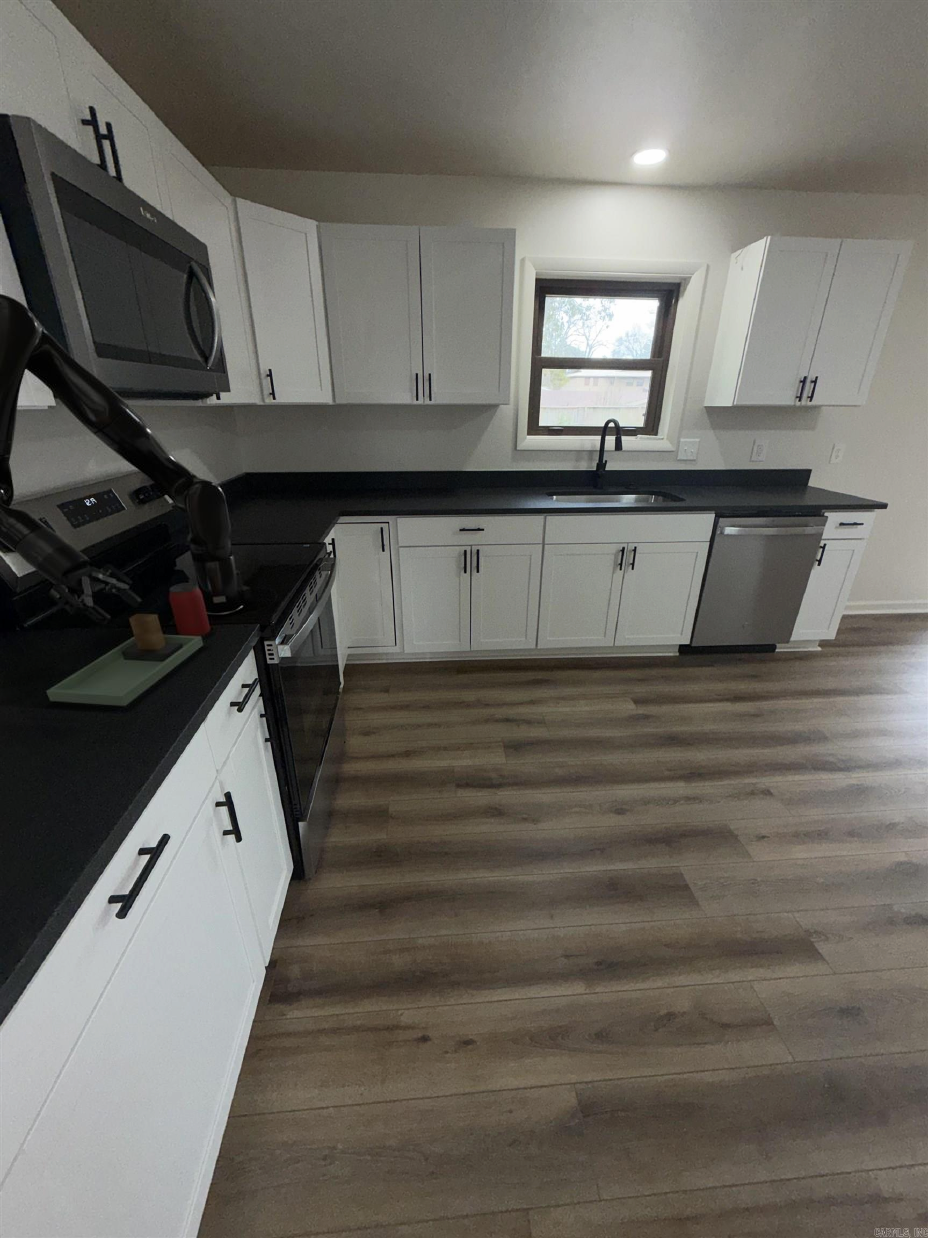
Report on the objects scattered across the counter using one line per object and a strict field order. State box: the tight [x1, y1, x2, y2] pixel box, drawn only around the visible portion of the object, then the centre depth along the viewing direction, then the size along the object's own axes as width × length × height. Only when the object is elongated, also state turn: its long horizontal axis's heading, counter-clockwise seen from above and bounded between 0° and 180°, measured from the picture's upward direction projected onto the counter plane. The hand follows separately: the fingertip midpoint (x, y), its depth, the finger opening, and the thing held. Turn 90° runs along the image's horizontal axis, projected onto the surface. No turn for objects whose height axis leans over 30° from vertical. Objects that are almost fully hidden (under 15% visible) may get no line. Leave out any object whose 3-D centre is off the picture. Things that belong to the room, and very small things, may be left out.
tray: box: [46, 634, 204, 707], centre depth 99 cm, size 24×15×3 cm, turn 174°
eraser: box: [122, 613, 183, 662], centre depth 102 cm, size 10×5×9 cm, turn 84°
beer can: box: [168, 582, 211, 637], centre depth 113 cm, size 7×7×12 cm
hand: (124, 613), depth 101 cm, fingers open, 8 cm apart
